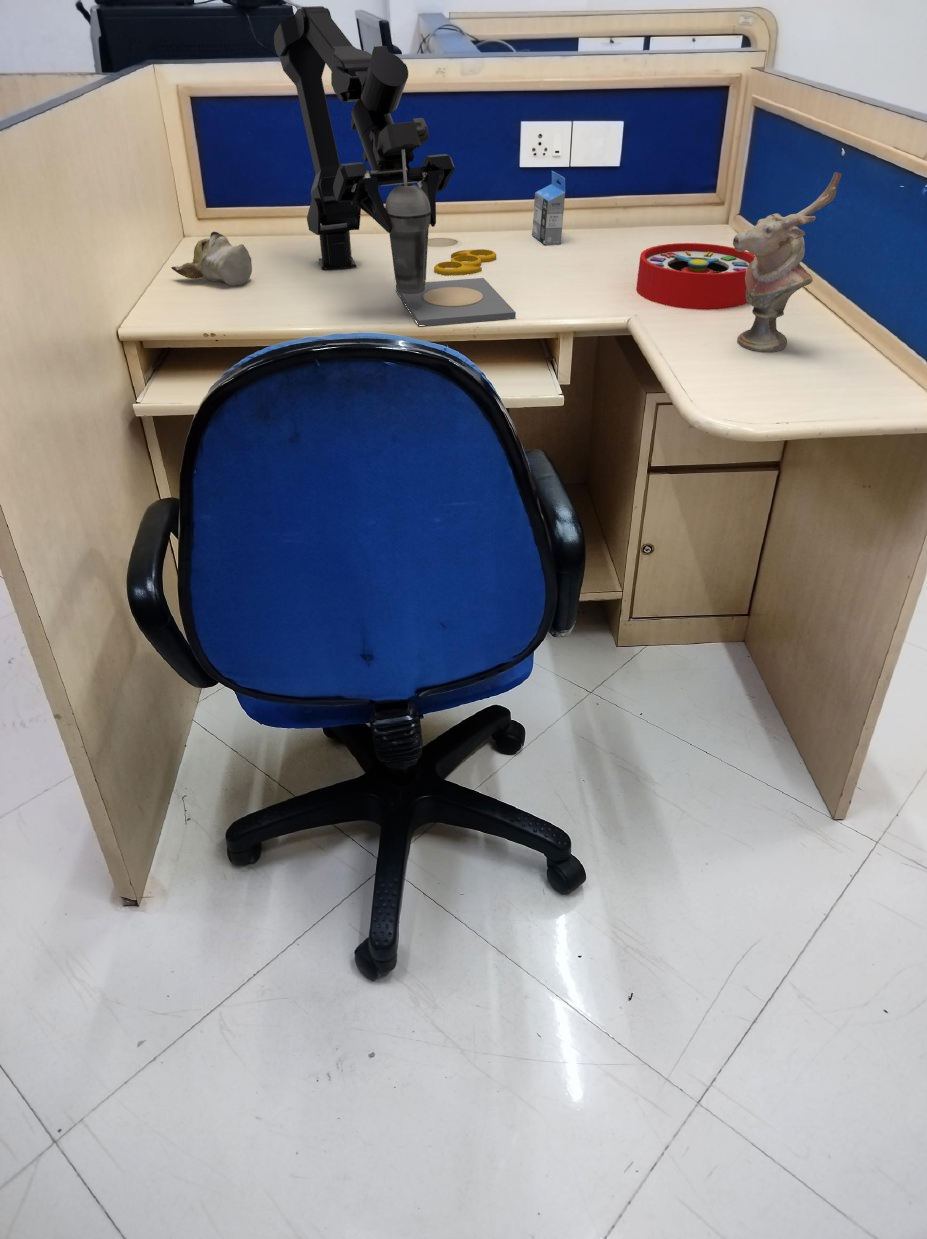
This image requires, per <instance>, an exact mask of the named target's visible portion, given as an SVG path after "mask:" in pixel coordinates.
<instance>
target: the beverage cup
mask: <svg viewBox="0 0 927 1239" xmlns="http://www.w3.org/2000/svg"><path fill="white" fill-rule="evenodd" d="M402 163H403V177H404V184H397V185H395V187H393V188H392V190H391V191H390V192H389V194H388V195H387V198H386V201H385V204H384V207H385V209H386V212H387V214H388V216H389V219H390V223H391V226H392V230H391V232H390V233H389V242H390V249H391V257H392V263H393V264H392V265H393V272H394V280H395V286H396V285H397V291H398V292H400V293H403V294H417V293H421V292H423V291H424V290H425V282H426V280H427V266H428V247H429V246H428V244H429V243H428V242H429V228H430V226H431V225H430V219H431V213H432V212H431V210H430V203H429V200H428V198H427V196H426V194H425V193H424V191H423V190H422V189H421V188H420V187H419V186H418V184H414V183H407V173H406V159H405V149H402ZM397 291H396V292H397Z"/></svg>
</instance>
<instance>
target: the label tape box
mask: <svg viewBox="0 0 927 1239" xmlns="http://www.w3.org/2000/svg"><path fill="white" fill-rule="evenodd" d="M557 181H558V182H560V184H559V183H557ZM565 198H566V178H565V177H564V176H562V175H561V174H559V173H557V172H555V171H553V170H551V183H550V184H549V185H547V186H545V187H543V188H542V189H539V190H537V191H536V192H535V193H534V200H533V201H534V203H533V205H534V206H533V214H532V215H533V218H532V228H531V230H532V231H531V235H532V236H533V237H534V238H535V239H537V240H539V242H540V243H542V244H543V245H549V246H557V245H561V244H562V235H563V233H562V232H563V223H564V222H563V221H564V214H565V212H564V211H565V210H564V209H565Z"/></svg>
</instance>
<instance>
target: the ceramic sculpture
mask: <svg viewBox="0 0 927 1239" xmlns="http://www.w3.org/2000/svg"><path fill="white" fill-rule="evenodd" d="M252 264H253V262H252V257H251V255H250V252H249V251H248V249H247V247H246V246H245V245H244V244H243V243H240V244H238V245H236V246H235V245H234V246H233V245H232V244H231V243H230V241H229V238H228V237H226V235H224V234H222V233H220V232H217V231H211V233H210V236H209V237H206V238H203V239H200V240H198V241H197V243H196V244H195V246H194V250H193V258H192V261H191V262H186V263H184V264H182V265H180V266H177V265H176V266H171V269H172V270H173V271H174V272H175V273H177V274H179V275H180V276H183V277H185V278H186V279H187V278H188V279H192V280H193V279H200V278H204V279H205V280H207V281H210V282H211V281H212V282H219V283H221V282H225V283H226V284H227V285H229V286H232V287H237V286H242V285H244V284H245V283H246V282H248V280H250V278H251V276H252V272H253V265H252Z"/></svg>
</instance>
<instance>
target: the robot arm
mask: <svg viewBox="0 0 927 1239" xmlns="http://www.w3.org/2000/svg"><path fill="white" fill-rule="evenodd" d="M273 40H274V41H273V44H274V50H275V52H276V55H277V56H278V57H279V60H280V63H281V68H282V71H283V72H284V73H285V74H286V75H287V77H288V79H290V81H291V82H292V83H293V84H294V86H295V88H296V92H297V96H298V100H299V106H300V111H301V115H302V119H303V124H304V128H305V133H306V137H307V141H308V146H309V150H310V155H311V159H312V164H313V170H314V173H315V176H314V180H313V183H312V186H311V190H310V196H311V200H310V205H309V207H308V208H309V209H308V211H307V215H306V222H307V227H308V230H309V232H311V233H313V234H315V235H317V236H319V245H320V253H321V254H320V256H321V257H319V258H318V263H319V266H320V267H321V270H331V269H332V270H335V269H337V270H338V269H349V268H351V269H352V268H357V263H356V262H355V260H354V258H353V256H352V246H351V245H352V244H351V243H352V242H351V235H350V234H351V232H350V231H358V230H360V225H361V215H362V214H361V212H362V211H363V212H364V213H366V214H367V215H368V216H370V218H372V219H373V221H376V223H377V224H378V225H379V226H380V227H382V228H383V230H385V231H386V232H387V233H390V232H391V230H392V226H391V223H390V219H389V216H388V214H387V212H386V209H385V204H384V203H383V199H382V197H381V194H380V191H379V189H380V188H379V186H380V187H386V186H387V187H388V186H398V185H400V184H404V177H403V163H402V149H405V159H406V173H407V183H411V184H414V183H416V185H417V186H418V187H420V188H421V189H422V190H423V191H424V193H425V194H426V196H427V198H428V200H429V203H430V210H431V212H432V213H431V219H430V226H431V227H432V228H434V227H435V226H436V223H437V192H438V193H441V192H442V191H443V190H445V189H446V188H447V185H448V183H449V182H450V179H451V177H452V176H453V173H454V172H455V168H456V167H455V165H454V164H455V163H454V162H453V159H452V157H451V156H450V155H448V154H446V153H443V154H441V153H440V154H432V155H426V156H425V157H424V159H423V162H422V165H421V166H417V167H410V163H412V162H413V161H414V158H415V154H414V152H413V151H415V150H416V149H417V148H420V147H421V145H424V144H425V143H426V142H428V141H429V139H430V138H429V137H430V135H429V134H430V133H429V129H428V128H429V127H428V125H427V123H426V121H425V119H424V117H417V118H412V121H406V122H395V123H394V120H393V118H392V115H391V113H393V112H394V111H396V110H397V109H398V106H399V104H400V101H401V98H402V95H403V92H404V89H405V86H406V84H407V82H408V78H409V70H408V69H409V68H408V66H407V64H406V63H405V62H404V61H403V60H402V59H401V57H399V56H398V55H396V54H394V53H392V52H390V51H389V49H388V47H387V45H376V46H373V49H372V52H371V53H370V52H369V51H367V50H363V49H360V48H357V47H355V46H354V45H353V44H352V42H350V40H349V39H348V37H347V36H346V35H345V34H344V32H343V30H341V28H340V27H339V26H338V24H337V23H336V22H335V20H333V18H332V15H331V12H330V9H329V7H325V6H323V5H322V6H321V5H319V6H301V8H297V10H296V11H295V13H294V14H293V15H291V16H289V17H288V18H285V19H284V20H283V21H281V22H279V25H278V26H277V28H276V30H275V32H274V34H273ZM326 65H327V67H328V68H329V70H330V71H331V73H330V74H331V76H330V78H331V82H330V84H331V86H332V89H333V92H334V93H335V94H336V96H337V99H338V100H339V101H340V102H342V103H349V102H350V103H352V102H354V104H353V107H352V108H351V109H352V110H351V117H352V118H351V120H350V128H351V130H352V131H355V130H356V131H357V133H358V137H359V139H360V142H361V145H362V147H363V153H362V159H363V161H364V162H368V163H369V166H370V169H369V168H367V166H366V164H365V163H364V162H362V161H359V162H348V163H341V161H340V158H339V157H340V156H339V152H338V148H337V144H336V138H335V135H334V130H333V125H332V121H331V120H332V119H331V115H330V111H329V107H328V106H329V105H328V101H327V96H326V92H325V86H324V83H323V74H324V71H325V67H326Z"/></svg>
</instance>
